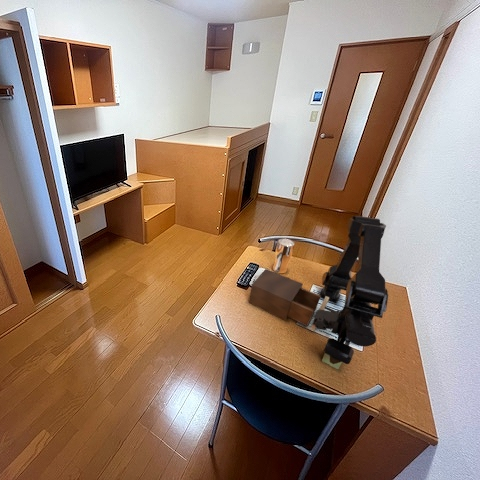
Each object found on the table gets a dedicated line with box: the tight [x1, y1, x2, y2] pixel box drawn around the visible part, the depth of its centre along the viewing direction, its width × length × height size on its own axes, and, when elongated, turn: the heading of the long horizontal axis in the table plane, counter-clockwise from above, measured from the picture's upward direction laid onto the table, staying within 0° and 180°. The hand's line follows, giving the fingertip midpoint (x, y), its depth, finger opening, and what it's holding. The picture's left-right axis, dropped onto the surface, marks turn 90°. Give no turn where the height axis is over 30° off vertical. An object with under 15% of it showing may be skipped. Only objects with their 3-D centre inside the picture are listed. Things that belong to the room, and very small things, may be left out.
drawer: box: [287, 287, 340, 332], centre depth 94 cm, size 18×11×8 cm, turn 48°
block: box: [321, 352, 343, 370], centre depth 81 cm, size 4×4×4 cm
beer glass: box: [272, 238, 296, 274], centre depth 118 cm, size 7×7×15 cm
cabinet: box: [248, 268, 304, 321], centre depth 102 cm, size 15×13×10 cm
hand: (335, 352), depth 80 cm, fingers open, 9 cm apart
